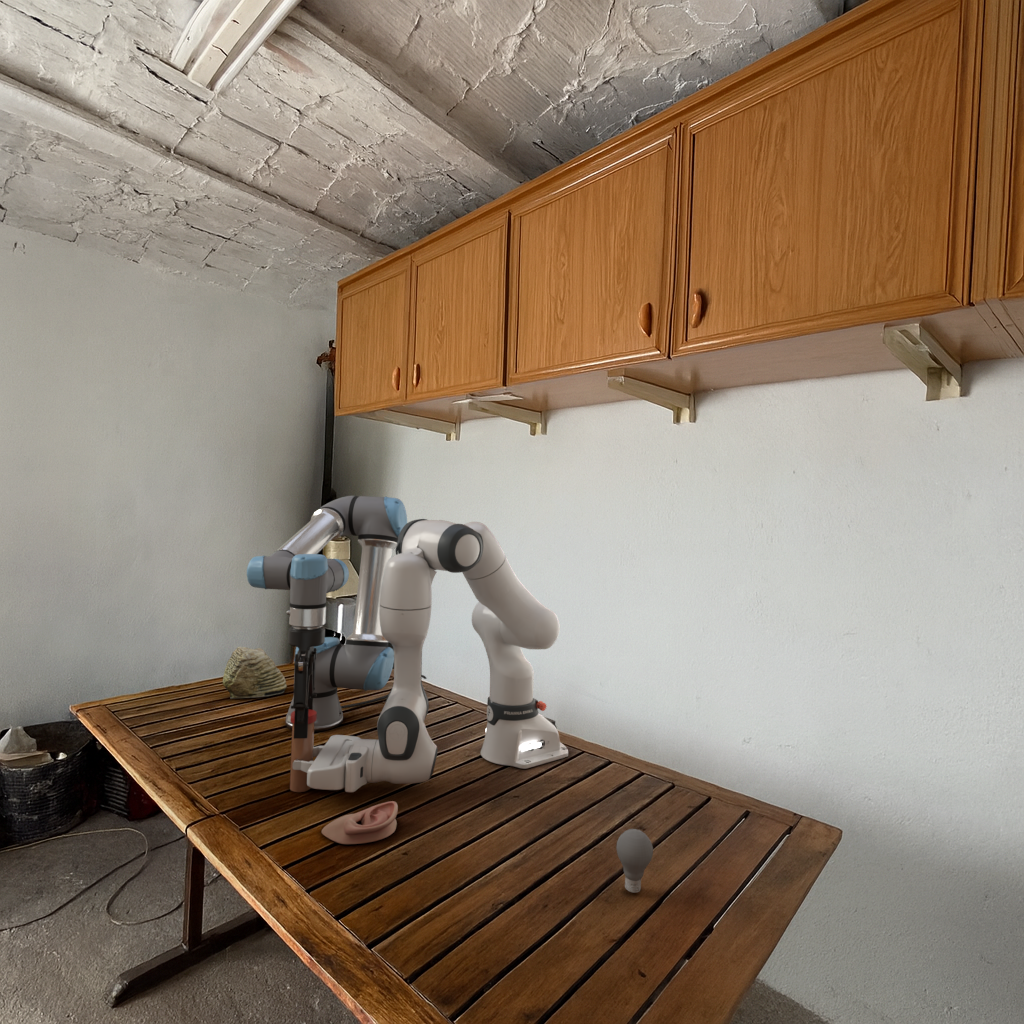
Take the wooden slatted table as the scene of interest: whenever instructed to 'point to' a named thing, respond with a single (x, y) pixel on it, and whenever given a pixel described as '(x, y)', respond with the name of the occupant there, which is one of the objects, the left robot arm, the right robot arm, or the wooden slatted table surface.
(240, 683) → the fossil
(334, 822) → the anatomical model
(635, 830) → the light bulb
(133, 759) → the wooden slatted table surface
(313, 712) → the lid
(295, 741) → the jar
